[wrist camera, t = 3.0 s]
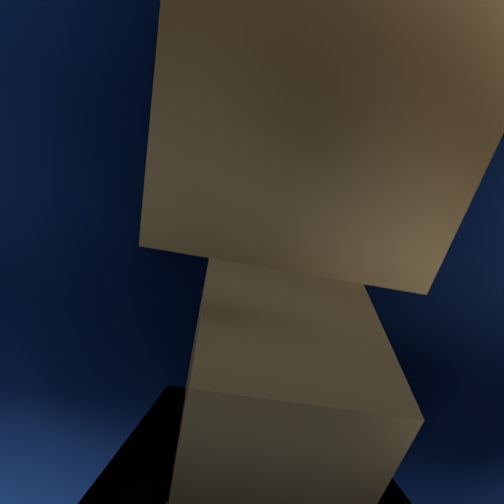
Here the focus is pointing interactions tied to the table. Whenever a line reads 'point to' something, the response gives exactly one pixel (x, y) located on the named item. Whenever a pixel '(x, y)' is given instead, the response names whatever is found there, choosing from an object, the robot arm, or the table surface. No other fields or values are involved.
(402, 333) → the table surface
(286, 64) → the tan stacked blocks
